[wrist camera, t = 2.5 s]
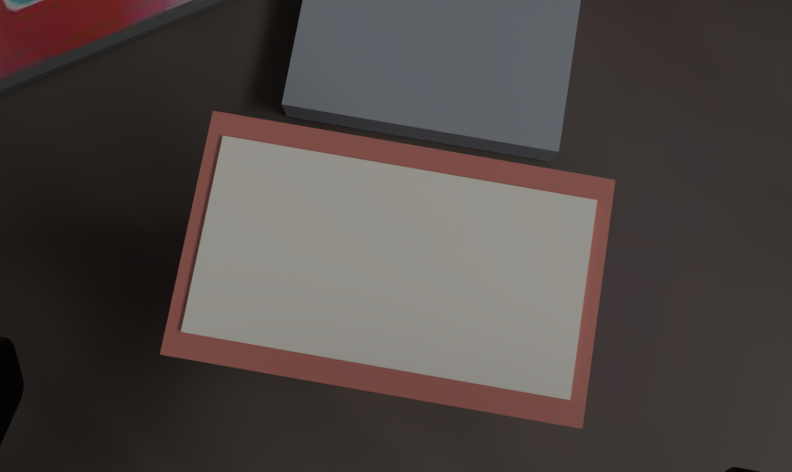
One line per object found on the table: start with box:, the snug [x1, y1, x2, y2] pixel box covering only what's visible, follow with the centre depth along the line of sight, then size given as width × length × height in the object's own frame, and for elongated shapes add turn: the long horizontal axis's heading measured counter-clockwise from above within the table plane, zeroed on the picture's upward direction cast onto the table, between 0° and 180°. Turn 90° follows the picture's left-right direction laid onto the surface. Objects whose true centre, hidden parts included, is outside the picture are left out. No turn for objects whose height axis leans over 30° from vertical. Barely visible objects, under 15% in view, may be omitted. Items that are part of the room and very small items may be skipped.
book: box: [160, 111, 615, 429], centre depth 14 cm, size 3×5×10 cm, turn 80°
